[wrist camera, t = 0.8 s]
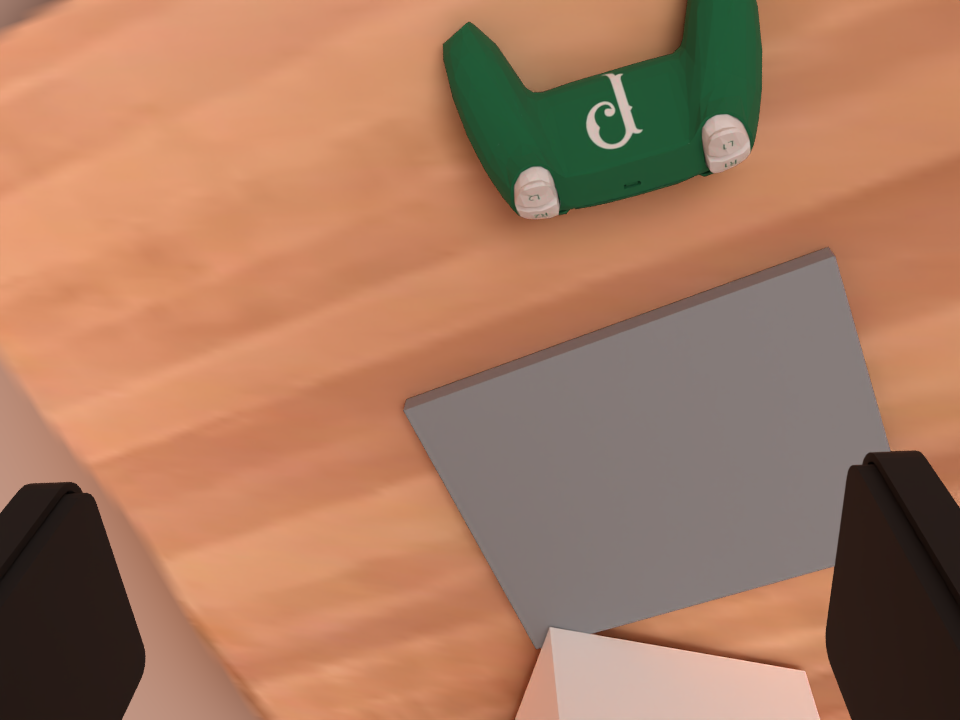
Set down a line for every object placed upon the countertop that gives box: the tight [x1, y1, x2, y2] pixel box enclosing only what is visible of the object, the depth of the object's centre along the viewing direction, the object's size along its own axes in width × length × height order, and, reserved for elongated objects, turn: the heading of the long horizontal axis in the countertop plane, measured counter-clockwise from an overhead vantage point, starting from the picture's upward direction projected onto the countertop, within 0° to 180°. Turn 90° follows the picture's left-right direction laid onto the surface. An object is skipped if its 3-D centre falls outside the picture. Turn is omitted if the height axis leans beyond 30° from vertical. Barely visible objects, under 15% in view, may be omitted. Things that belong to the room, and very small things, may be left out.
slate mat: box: [403, 247, 890, 649], centre depth 35 cm, size 16×13×1 cm
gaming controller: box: [443, 0, 762, 219], centre depth 28 cm, size 9×4×6 cm
